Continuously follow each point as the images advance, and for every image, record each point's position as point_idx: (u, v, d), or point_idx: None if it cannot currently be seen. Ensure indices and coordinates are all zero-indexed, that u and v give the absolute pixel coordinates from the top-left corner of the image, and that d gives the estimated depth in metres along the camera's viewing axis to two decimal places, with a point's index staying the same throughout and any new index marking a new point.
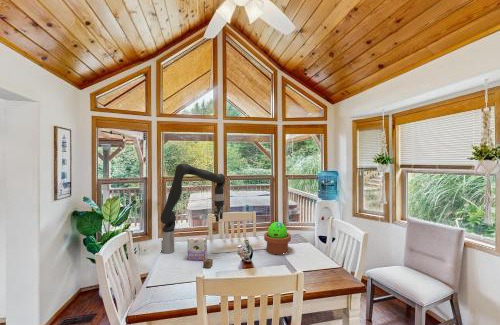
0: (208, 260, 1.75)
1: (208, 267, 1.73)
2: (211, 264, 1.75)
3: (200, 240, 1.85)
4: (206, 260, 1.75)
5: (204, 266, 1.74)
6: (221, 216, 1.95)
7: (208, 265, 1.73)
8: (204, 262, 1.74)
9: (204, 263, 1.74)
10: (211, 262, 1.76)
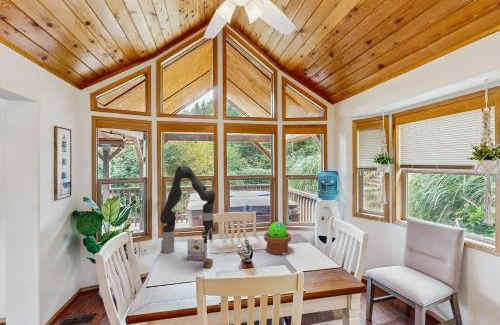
0: (208, 260, 1.75)
1: (208, 267, 1.73)
2: (211, 264, 1.75)
3: (200, 240, 1.85)
4: (206, 260, 1.75)
5: (204, 266, 1.74)
6: (210, 236, 1.79)
7: (208, 265, 1.73)
8: (204, 262, 1.74)
9: (204, 263, 1.74)
10: (211, 262, 1.76)
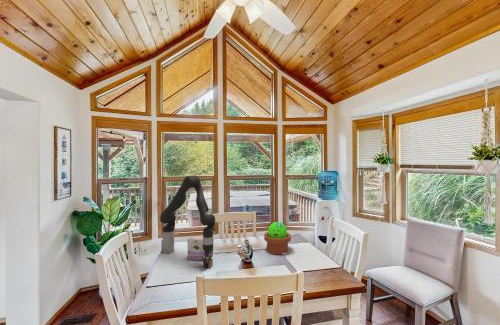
0: (208, 260, 1.75)
1: (208, 267, 1.73)
2: (211, 264, 1.75)
3: (200, 240, 1.85)
4: None
5: (204, 266, 1.74)
6: None
7: (208, 265, 1.73)
8: None
9: (204, 263, 1.74)
10: (211, 261, 1.76)
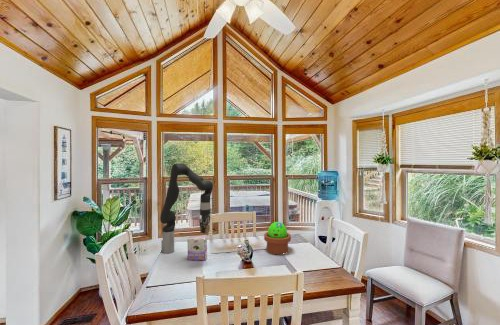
0: (205, 225, 1.77)
1: (205, 232, 1.75)
2: (208, 229, 1.77)
3: (200, 240, 1.85)
4: None
5: (201, 231, 1.76)
6: None
7: (205, 230, 1.75)
8: (201, 227, 1.76)
9: (201, 228, 1.76)
10: (208, 227, 1.78)
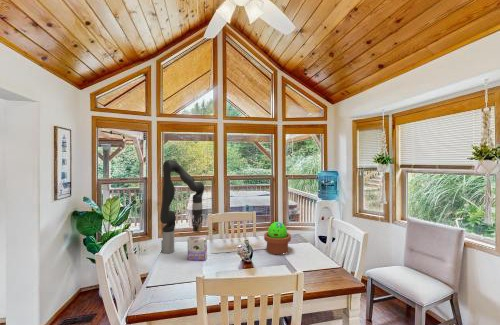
0: (198, 224, 1.87)
1: (197, 230, 1.85)
2: (200, 228, 1.87)
3: (200, 240, 1.85)
4: None
5: None
6: None
7: (197, 229, 1.85)
8: None
9: None
10: (200, 226, 1.88)
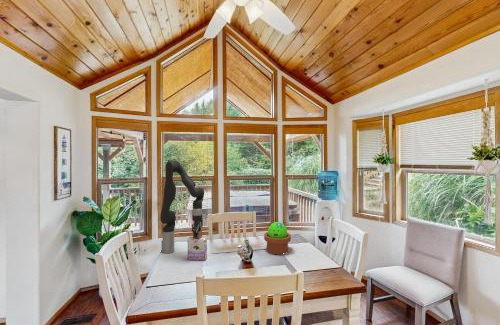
0: (198, 231, 1.88)
1: (197, 237, 1.85)
2: (200, 235, 1.88)
3: (200, 240, 1.85)
4: None
5: (194, 237, 1.86)
6: None
7: (197, 236, 1.85)
8: None
9: None
10: (200, 233, 1.88)
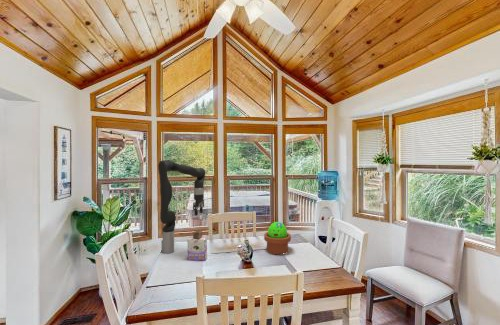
0: (198, 231, 1.87)
1: (198, 238, 1.85)
2: (200, 235, 1.88)
3: (200, 240, 1.85)
4: (196, 231, 1.87)
5: (194, 237, 1.86)
6: (201, 210, 1.97)
7: (198, 236, 1.85)
8: (194, 233, 1.86)
9: (194, 234, 1.86)
10: (201, 233, 1.88)
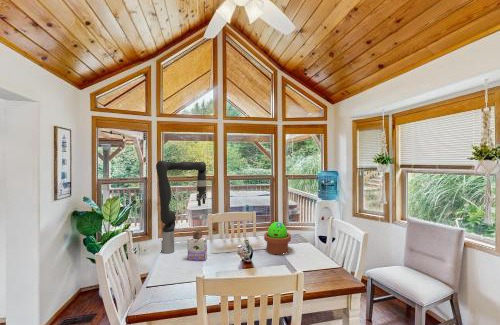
0: (198, 231, 1.87)
1: (198, 238, 1.85)
2: (200, 235, 1.88)
3: (200, 240, 1.85)
4: (196, 231, 1.87)
5: (194, 237, 1.86)
6: (204, 201, 2.10)
7: (198, 236, 1.85)
8: (194, 233, 1.86)
9: (194, 234, 1.86)
10: (201, 233, 1.88)
